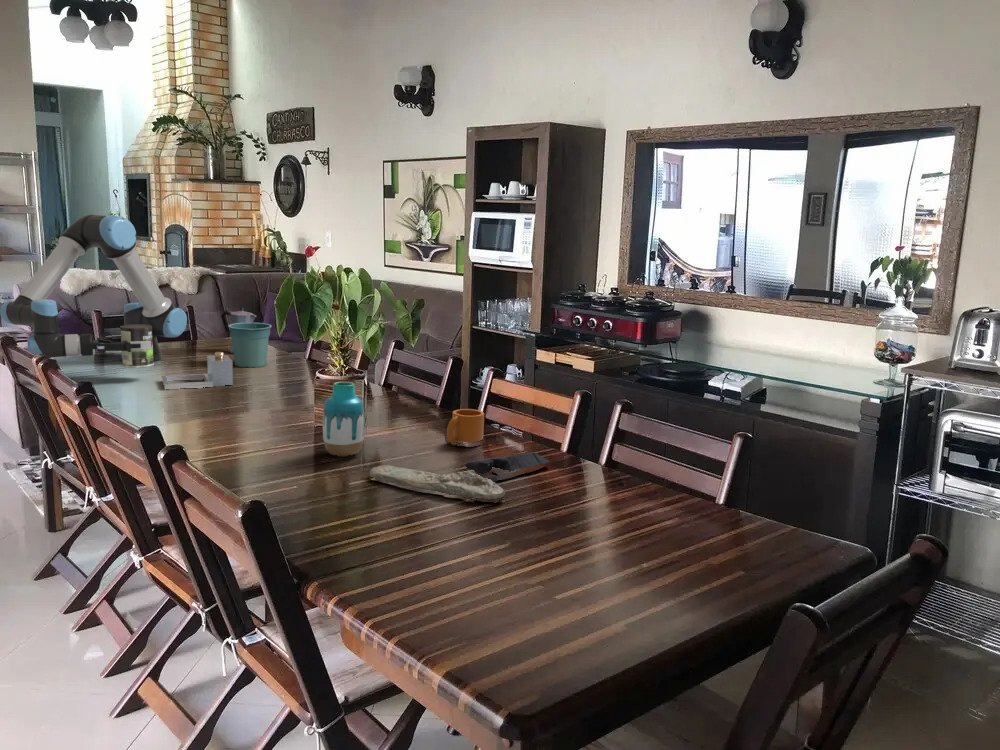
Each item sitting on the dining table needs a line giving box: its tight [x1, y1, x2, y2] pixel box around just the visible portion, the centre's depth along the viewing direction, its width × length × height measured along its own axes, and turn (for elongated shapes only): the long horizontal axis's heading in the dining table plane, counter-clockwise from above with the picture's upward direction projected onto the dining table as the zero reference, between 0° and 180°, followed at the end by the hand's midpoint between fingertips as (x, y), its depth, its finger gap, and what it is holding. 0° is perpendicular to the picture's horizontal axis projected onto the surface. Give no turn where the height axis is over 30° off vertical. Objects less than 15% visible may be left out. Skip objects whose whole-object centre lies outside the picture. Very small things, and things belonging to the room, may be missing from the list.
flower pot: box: [228, 322, 272, 369], centre depth 323 cm, size 16×16×16 cm
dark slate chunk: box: [465, 452, 550, 474], centre depth 206 cm, size 15×22×5 cm
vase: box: [322, 381, 365, 457], centre depth 210 cm, size 11×11×19 cm
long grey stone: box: [369, 464, 506, 499], centre depth 189 cm, size 35×5×10 cm
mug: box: [446, 408, 485, 442], centre depth 226 cm, size 9×12×9 cm
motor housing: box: [161, 351, 234, 391], centre depth 286 cm, size 15×22×11 cm
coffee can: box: [119, 324, 155, 369], centre depth 286 cm, size 10×10×14 cm
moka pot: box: [221, 306, 257, 355], centre depth 348 cm, size 10×15×20 cm, turn 89°
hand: (150, 342), depth 288 cm, fingers closed on coffee can, 10 cm apart
